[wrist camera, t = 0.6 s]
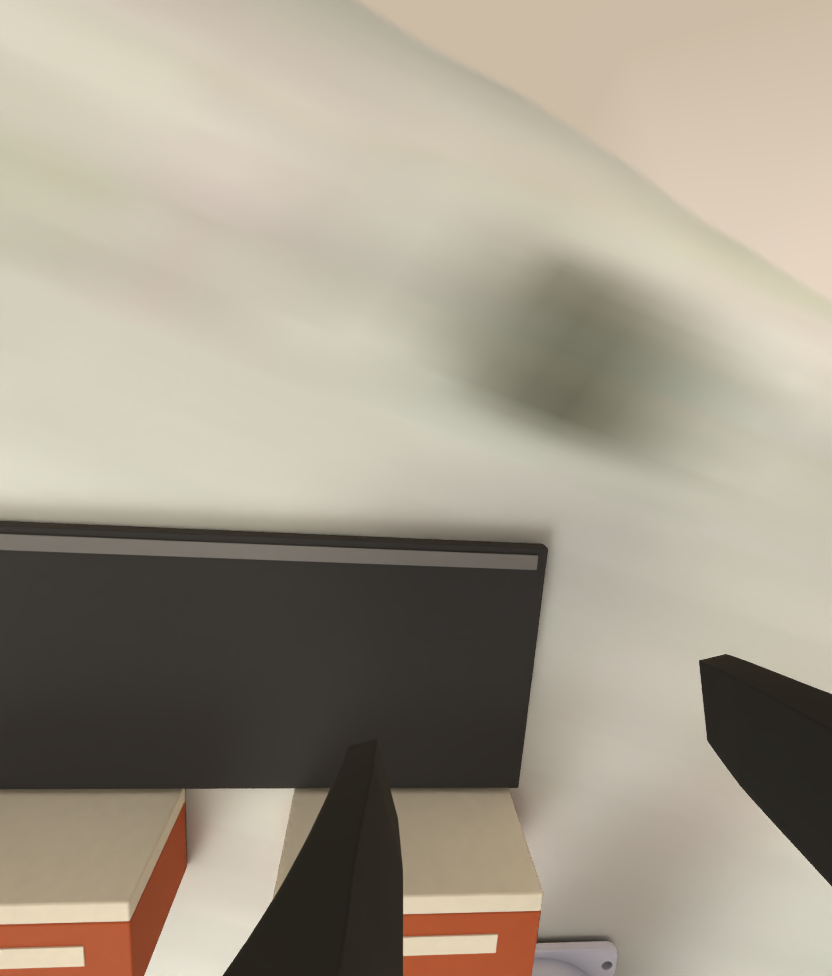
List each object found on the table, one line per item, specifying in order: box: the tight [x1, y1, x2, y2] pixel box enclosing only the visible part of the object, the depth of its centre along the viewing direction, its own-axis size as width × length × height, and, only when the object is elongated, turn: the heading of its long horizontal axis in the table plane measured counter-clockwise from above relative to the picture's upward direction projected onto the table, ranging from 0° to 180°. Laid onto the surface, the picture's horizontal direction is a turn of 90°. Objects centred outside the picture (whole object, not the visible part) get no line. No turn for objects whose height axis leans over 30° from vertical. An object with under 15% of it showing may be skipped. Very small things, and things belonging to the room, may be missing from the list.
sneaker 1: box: [273, 788, 543, 976], centre depth 20 cm, size 4×10×5 cm, turn 86°
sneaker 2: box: [0, 789, 187, 976], centre depth 19 cm, size 4×10×5 cm, turn 86°
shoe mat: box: [0, 521, 548, 789], centre depth 20 cm, size 11×28×1 cm, turn 86°
